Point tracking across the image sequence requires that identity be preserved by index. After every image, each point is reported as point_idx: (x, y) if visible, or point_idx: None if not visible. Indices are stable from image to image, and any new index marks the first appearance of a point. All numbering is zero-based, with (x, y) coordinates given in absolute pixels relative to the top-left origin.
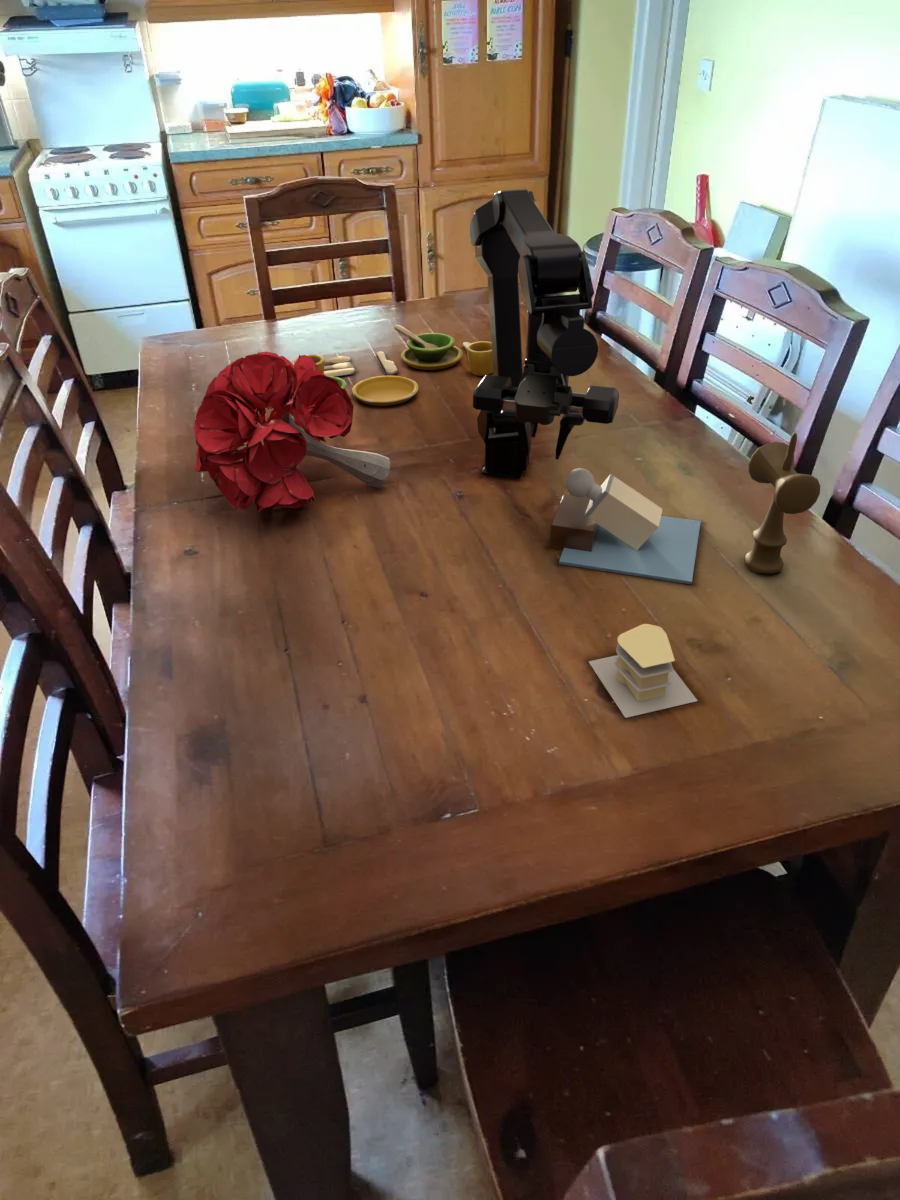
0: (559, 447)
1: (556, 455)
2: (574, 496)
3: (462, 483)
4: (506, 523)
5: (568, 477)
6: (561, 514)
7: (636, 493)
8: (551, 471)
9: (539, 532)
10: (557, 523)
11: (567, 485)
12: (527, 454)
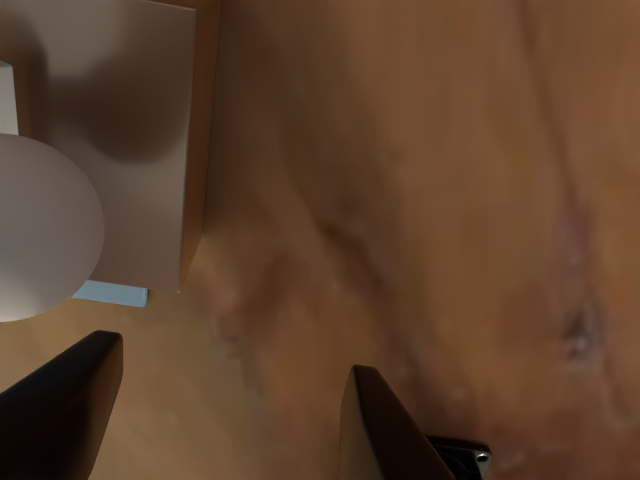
0: (25, 404)
1: (97, 350)
2: (127, 277)
3: (558, 400)
4: (412, 175)
5: (54, 228)
6: (159, 118)
7: None
8: (268, 475)
9: (277, 122)
10: (165, 24)
11: (72, 184)
12: (363, 372)
